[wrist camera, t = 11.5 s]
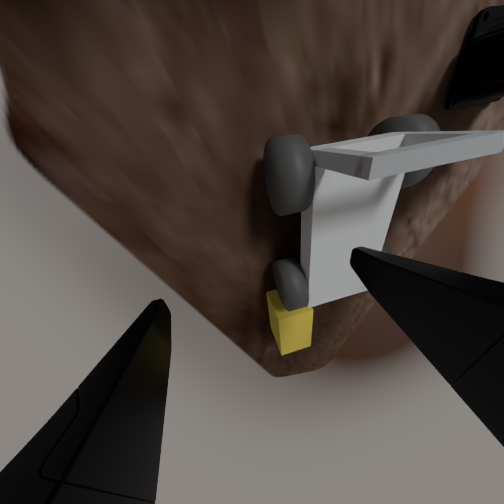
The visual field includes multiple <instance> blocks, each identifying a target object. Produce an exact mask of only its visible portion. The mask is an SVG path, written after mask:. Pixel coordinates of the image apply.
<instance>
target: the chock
mask: <svg viewBox="0 0 504 504" xmlns="http://www.w3.org/2000/svg"><path fill="white" fill-rule="evenodd" d="M266 293H267V301H268V309H269V317H270V325H271V329H272V332H273V334H274V337H275V340H276V342H277V345H278V347H279V350H280V353H281V355H285V354H288V353H291V352H294V351H297V350H300V349H303V348H306V347H309V346H311V336H312V322H313V308H312V307H310V308H307V306H306V307H303V308H300V309H297V310H293V311H290V312H288V311H287V310H286V309H285V308H284V306H283V304H282V302H281V300H280V298H279V295H278V292H277V289H276V290H273V291H269V292H266Z"/></svg>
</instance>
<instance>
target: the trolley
mask: <svg viewBox="0 0 504 504" xmlns="http://www.w3.org/2000/svg"><path fill="white" fill-rule="evenodd" d="M503 147H504V130H496V131H440V129H439V127H438V125H437V123H436V122H435V121H434V120H433V119H432V118H431V117H429V116H427V115H425V114H410V115H404V116H398V117H392V118H388V119H385V120H384V121H382V122H380V123H379V124H378V125H376V126H375V127H374V128H373V130H372V131H371V132H370V133H369V135H368V136H367V137H363V138H358V139H352V140H346V141H341V142H335V143H330V144H324V145H319V146H313V147H310V146H309V144H308V142H307V140H306V139H305V138H304V137H303V136H302V135H301V134H291V135H285V136H279V137H273V138H269V139H268V140H267V142H266V145H265V148H264V156H263V171H264V180H265V187H266V191H267V195H268V199H269V202H270V204H271V206H272V208H273V210H274V212H275V213H276V214H277V215H278V216H284V215H288V214H293V213H297V212H301V263H300V265H299V264H298V262H297V261H296V260H295V259H294V258H293V257H288V258H284V259H280V260H276V261H274V262H273V264H272V271H273V277H274V282H275V286H276V289H277V292H278V295H279V298H280V300H281V302H282V304H283V306H284V308H285V309H286V310H287V311H288V312H290V311H293V310H297V309H300V308H303V307H306V306H307V308H310V307H313V306H317V305H320V304H323V303H327V302H330V301H333V300H337V299H340V298H343V297H347V296H350V295H353V294H357V293H360V292H364V291H367V289H366V287H365V286H364V284H363V283H362V282H361V280H360V279H359V277H358V276H357V275H356V273H355V272H354V270H353V269H352V268H351V266H350V257H351V252H352V250H353V249H354V248H356V247H361V246H362V247H366V248H370V249H374V250H378V251H382V252H385V253H389V254H392V252H391V251H390V249H389V248H388V246H387V245H386V244H385V243H384V241H385V238H386V234H387V231H388V228H389V224H390V221H391V218H392V214H393V211H394V208H395V204H396V201H397V198H398V194H399V191H400V189H404V188H408V187H411V186H414V185H415V184H417V183H419V182H420V181H422V180H423V179H424V178H425V177H426V176H427V175H428V174H429V173H430V172H431V170H432V169H433V167H434V166H439V165H444V164H448V163H453V162H458V161H462V160H467V159H472V158H476V157H481V156H486V155H490V154H495V153H500V152H501V151H502V149H503Z"/></svg>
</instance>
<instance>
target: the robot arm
mask: <svg viewBox="0 0 504 504" xmlns="http://www.w3.org/2000/svg"><path fill="white" fill-rule="evenodd" d="M502 97H504V5H502V6H490V7H487V8H485V9H483V10H481V11H480V12H479V13H478V14H477V16H476V18H475V21H474V23H473V26H472V29H471V32H470V35H469V38H468V41H467V44H466V46H465V49H464V52H463V55H462V58H461V61H460V64H459V67H458V70H457V72H456V75H455V78H454V81H453V84H452V87H451V90H450V93H449V96H448V98H447V101H446V105H445V108H446V109H454V108H460V107H466V106H471V105H477V104H483V103H489V102H495V101H498V100H500V99H501V98H502ZM350 266H351V268H352V269H353V270H354V272H355V273H356V275H357V276H358V277H359V279H360V280H361V282H362V283H363V284H364V286H365V287H366V289H367V290H368V291H369V292H370V294H371V295H372V296H373V297H374V298H375V299H376V301H377V302H378V303H379V304H380V305H381V306H382V307H383V309H384V310H385V311H386V312H387V313H388V314H389V316H391V318H392V319H393V320H394V321H395V322H396V324H397V325H398V326H399V327H400V328H401V329H402V330H403V332H404V333H405V334H406V335H407V336H408V337H409V338H410V340H411V341H412V342H413V343H414V344H415V345H416V346H417V348H418V349H419V350H420V351H421V352H422V353H423V355H424V356H425V357H426V358H427V359H428V360H429V361H430V363H431V364H432V365H433V366H434V367H435V368H436V369H437V370H438V372H439V373H440V374H441V375H442V376H443V377H444V379H445V380H446V381H447V382H448V383H449V384H450V385H451V387H452V388H453V389H454V390H455V392H457V394H458V395H459V396H460V397H461V398H462V400H463V401H464V402H465V403H466V404H467V405H468V406H469V408H470V409H471V410H472V411H473V412H474V413H475V414H476V416H477V417H478V418H479V419H480V420H481V421H482V423H484V425H485V426H486V427H487V428H488V429H489V431H490V432H491V433H492V434H493V435H494V436H495V437H496V439H497V440H498V441H499V442H500V443H501V444H502V446H503V447H504V283H503V282H499V281H494V280H490V279H486V278H482V277H478V276H474V275H470V274H466V273H463V272H458V271H454V270H451V269H447V268H443V267H439V266H435V265H432V264H428V263H424V262H420V261H416V260H412V259H409V258H405V257H401V256H397V255H393V254H389V253H385V252H382V251H378V250H374V249H370V248H366V247H362V246H361V247H356V248H354V249H353V250H352V252H351V257H350ZM170 358H171V313H170V311H169V309H168V307H167V305H166V303H165V302H164V300H163V299H158V300H154V301H152V302H151V303H150V304H149V305H148V306H147V307H146V308H145V309H144V311H143V312H142V313H141V314H140V315H139V316H138V318H137V319H136V320H135V321H134V322H133V323H132V325H131V326H130V327H129V328H128V329H127V330H126V332H125V333H124V334H123V335H122V336H121V337H120V339H119V340H118V341H117V342H116V343H115V345H114V346H113V347H112V348H111V349H110V350H109V351H108V353H107V354H106V355H105V356H104V357H103V358H102V359H101V361H100V362H99V363H98V364H97V365H96V367H95V368H94V369H93V370H92V371H91V372H90V373H89V375H88V376H87V377H86V378H85V379H84V381H83V382H82V383H81V384H80V385H79V386H78V389H76V390H75V391H74V392H73V393H72V394H71V395H70V397H69V398H68V399H67V400H66V401H65V402H64V403H63V405H62V406H61V407H60V408H59V409H58V410H57V412H56V413H55V414H54V415H53V416H52V417H51V418H50V419H49V420H48V422H47V423H46V424H45V425H44V426H43V427H42V428H41V429H40V430H39V431H38V432H37V433H36V435H35V436H34V437H33V438H32V439H31V440H30V441H29V442H28V443H27V445H25V446H24V448H23V449H22V450H21V451H20V452H19V453H18V454H17V455H16V456H15V457H14V458H13V459H12V460H11V461H10V462H9V463H8V464H7V465H6V467H5V468H4V469H3V470H2V471H1V472H0V504H155V503H154V502H155V500H156V491H157V482H158V472H159V463H160V454H161V444H162V435H163V424H164V416H165V406H166V396H167V387H168V377H169V368H170Z"/></svg>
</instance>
